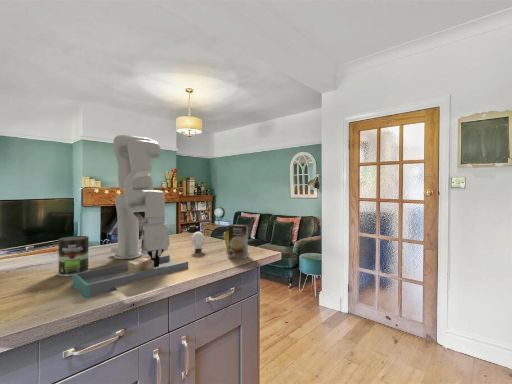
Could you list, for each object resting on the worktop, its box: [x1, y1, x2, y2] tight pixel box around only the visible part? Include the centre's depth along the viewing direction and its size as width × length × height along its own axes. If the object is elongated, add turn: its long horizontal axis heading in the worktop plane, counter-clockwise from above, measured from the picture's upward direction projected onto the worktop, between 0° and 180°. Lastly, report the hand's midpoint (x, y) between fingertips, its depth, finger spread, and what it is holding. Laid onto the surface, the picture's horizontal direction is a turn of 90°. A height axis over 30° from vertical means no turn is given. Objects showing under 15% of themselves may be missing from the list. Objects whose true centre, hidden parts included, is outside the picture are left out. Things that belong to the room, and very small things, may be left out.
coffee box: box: [227, 223, 249, 260], centre depth 133 cm, size 9×6×16 cm
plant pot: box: [223, 231, 229, 252], centre depth 148 cm, size 10×10×10 cm
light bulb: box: [191, 231, 205, 254], centre depth 143 cm, size 7×7×11 cm
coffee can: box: [57, 235, 90, 277], centre depth 109 cm, size 10×10×14 cm
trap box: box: [71, 254, 189, 299], centre depth 103 cm, size 37×16×4 cm, turn 137°
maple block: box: [127, 257, 154, 274], centre depth 104 cm, size 7×7×4 cm
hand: (155, 266), depth 108 cm, fingers closed
